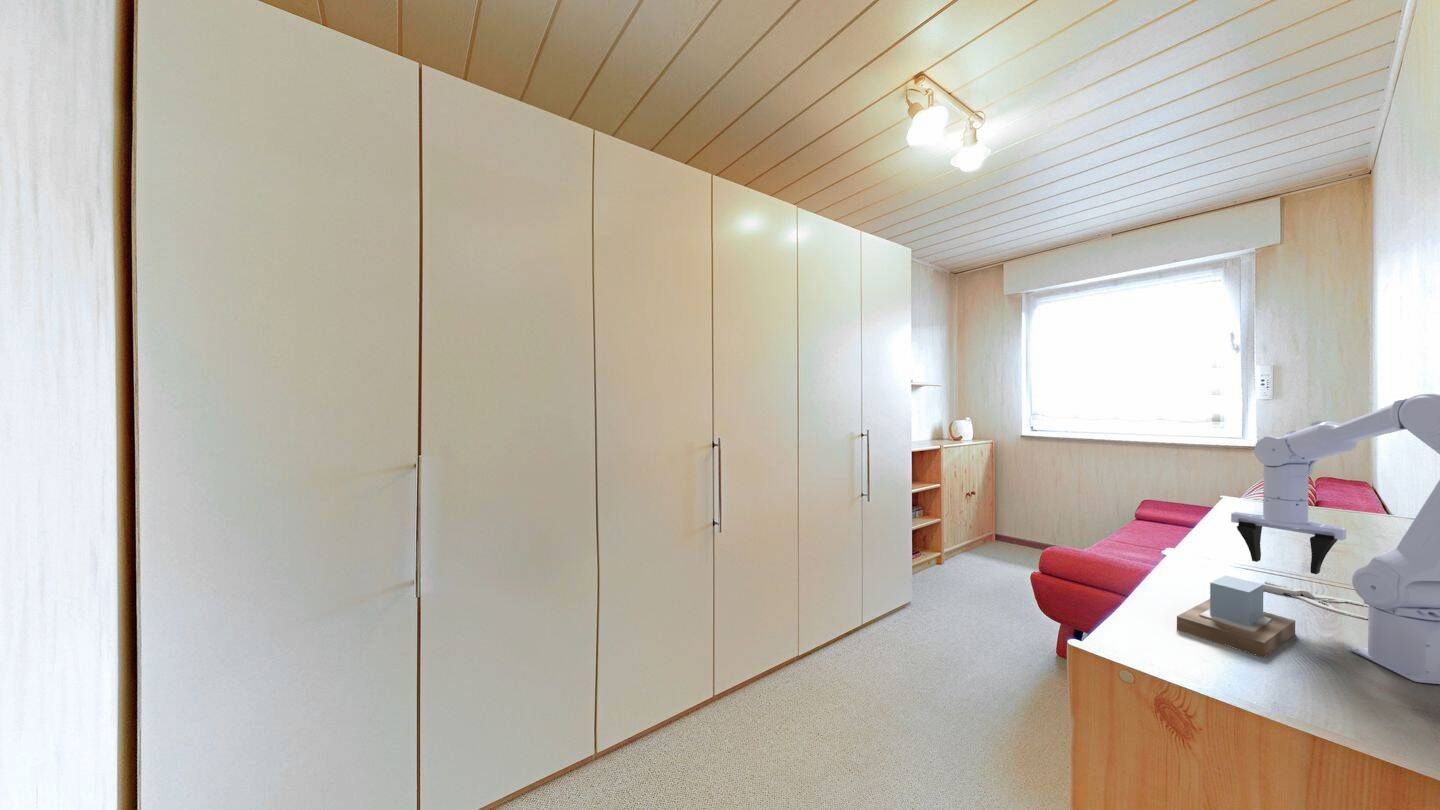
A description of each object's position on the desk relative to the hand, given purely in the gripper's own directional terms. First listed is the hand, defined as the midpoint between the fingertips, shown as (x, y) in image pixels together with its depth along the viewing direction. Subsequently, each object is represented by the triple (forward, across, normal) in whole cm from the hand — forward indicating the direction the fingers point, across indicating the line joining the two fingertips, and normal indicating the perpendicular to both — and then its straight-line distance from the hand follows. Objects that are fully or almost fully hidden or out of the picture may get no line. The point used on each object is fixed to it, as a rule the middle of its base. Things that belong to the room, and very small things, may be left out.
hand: (1284, 566), depth 94 cm
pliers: (+10, -1, -14) cm, 17 cm away
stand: (+9, +2, +18) cm, 20 cm away
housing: (+7, +2, +17) cm, 19 cm away
